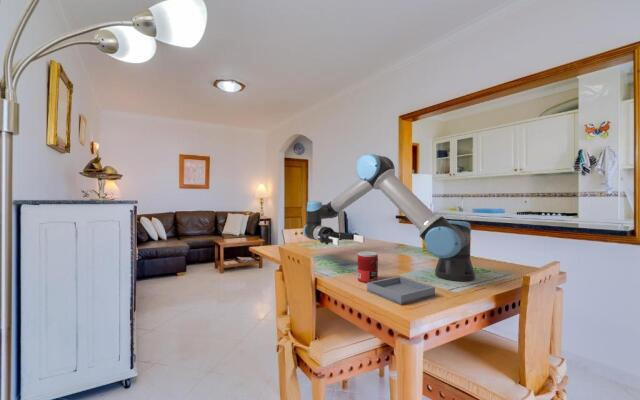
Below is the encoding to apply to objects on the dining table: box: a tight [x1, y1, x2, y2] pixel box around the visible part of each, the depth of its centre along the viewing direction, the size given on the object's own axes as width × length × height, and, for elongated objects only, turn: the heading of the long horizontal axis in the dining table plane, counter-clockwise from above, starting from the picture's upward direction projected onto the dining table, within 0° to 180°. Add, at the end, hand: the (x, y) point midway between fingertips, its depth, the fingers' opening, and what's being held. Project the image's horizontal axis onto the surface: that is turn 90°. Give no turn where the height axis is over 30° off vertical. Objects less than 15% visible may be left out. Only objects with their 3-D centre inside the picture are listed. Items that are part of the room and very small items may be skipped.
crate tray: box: [366, 275, 436, 306], centre depth 105 cm, size 16×16×3 cm
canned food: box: [357, 250, 379, 284], centre depth 120 cm, size 8×8×11 cm
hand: (351, 240), depth 129 cm, fingers open, 13 cm apart
